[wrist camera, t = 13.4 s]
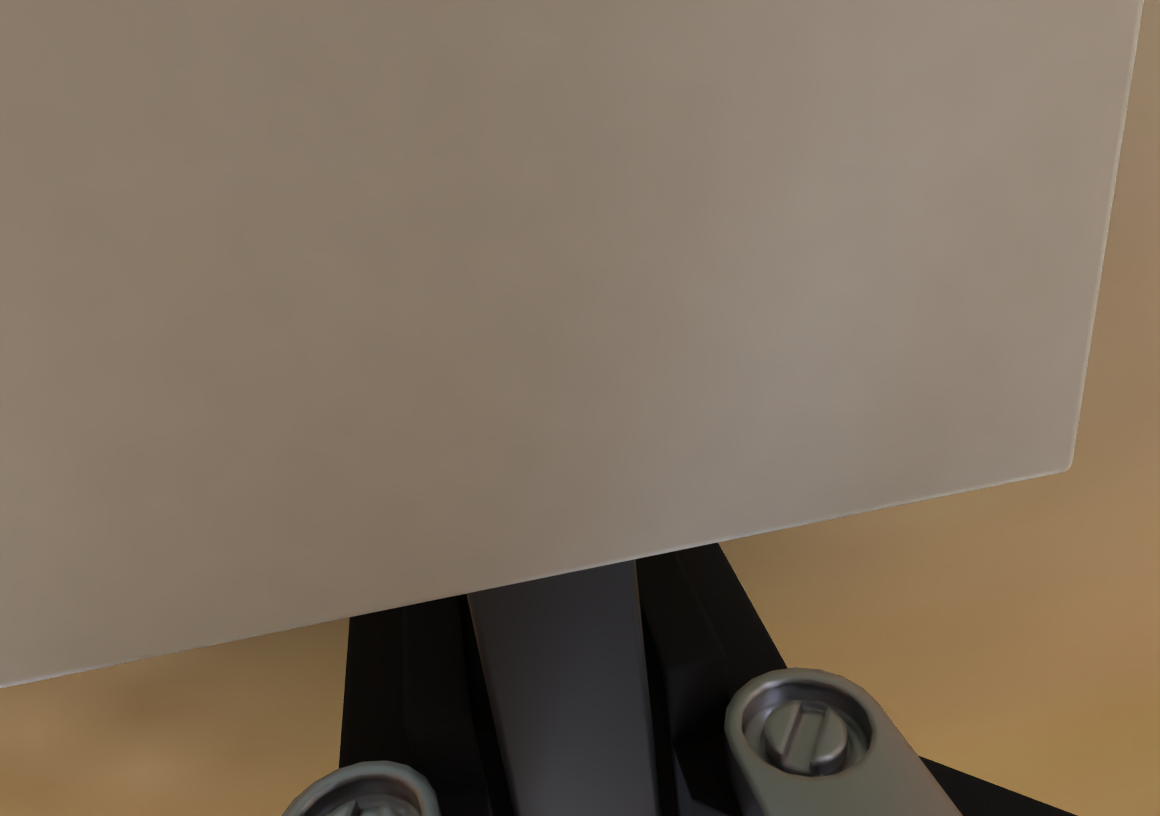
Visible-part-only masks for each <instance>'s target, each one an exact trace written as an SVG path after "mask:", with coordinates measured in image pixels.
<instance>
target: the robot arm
mask: <svg viewBox="0 0 1160 816" xmlns="http://www.w3.org/2000/svg"><path fill="white" fill-rule="evenodd" d="M635 563H636V572H637V582H638V592H639V601H640V611H641V620H642V630H643V639H644V649H645V659H646V668H647V678H648V687H649V697H650V706H651V716H652V726H653V735H654V745H655V754H656V764H657V774H658V783H659V793H660V802H661V812H662V816H1077V815H1074V814H1071V813H1069V812H1066V811H1063V810H1061V809H1058V808H1055V807H1053V806H1050V805H1048V804H1045V803H1042V802H1040V801H1037V800H1034V799H1032V798H1029V797H1026V796H1024V795H1021V794H1018V793H1016V792H1013V791H1011V790H1008V789H1005V788H1003V787H1000V786H997V785H995V784H992V783H989V782H987V781H984V780H981V779H979V778H976V777H974V776H971V775H968V774H966V773H963V772H960V771H958V770H955V769H952V768H950V767H947V766H944V765H942V764H939V763H937V762H934V761H931V760H929V759H926V758H923V757H921V756H918V755H917V754H916V753H915V751H914V750H913V749H912V747H911V746H910V745H909V743H908V742H907V741H906V739H905V738H904V737H903V735H902V734H901V733H900V731H899V730H898V729H897V727H896V726H895V724H894V723H893V722H892V720H891V719H890V718H889V716H888V715H887V714H886V712H885V711H884V710H883V708H882V707H881V706H880V704H879V703H878V702H877V701H876V700H875V699H874V698H873V697H872V696H871V695H870V694H869V693H867V692H866V691H865V690H864V689H863V688H862V687H860V686H858V685H857V684H855V683H853V682H851V681H850V680H848V679H846V678H844V677H843V676H840V675H836V674H833V673H830V672H826V671H823V670H820V669H808V668H795V667H794V668H787V666H786V664H785V663H784V661H783V659H782V657H781V655H780V654H779V652H778V650H777V648H776V646H775V645H774V643H773V641H772V639H771V637H770V636H769V634H768V632H767V630H766V628H765V627H764V625H763V623H762V621H761V619H760V618H759V616H758V614H757V612H756V610H755V609H754V607H753V605H752V603H751V601H750V600H749V598H748V596H747V594H746V592H745V591H744V589H743V587H742V585H741V583H740V582H739V580H738V578H737V576H736V574H735V573H734V571H733V569H732V567H731V565H730V564H729V562H728V560H727V558H726V556H725V555H724V553H723V551H722V549H721V547H720V546H719V544H718V542H717V543H712V544H707V545H702V546H697V547H692V548H687V549H683V550H678V551H673V552H668V553H663V554H658V555H653V556H648V557H643V558H638V559H635ZM282 816H514V815H513V810H512V805H511V801H510V796H509V791H508V787H507V782H506V777H505V772H504V768H503V763H502V758H501V754H500V749H499V744H498V740H497V735H496V730H495V725H494V721H493V716H492V711H491V707H490V702H489V697H488V692H487V688H486V683H485V678H484V674H483V669H482V664H481V660H480V655H479V650H478V645H477V641H476V636H475V631H474V627H473V622H472V617H471V612H470V608H469V603H468V598H467V594H461V595H456V596H452V597H447V598H442V599H437V600H432V601H427V602H422V603H417V604H412V605H407V606H402V607H398V608H393V609H388V610H383V611H378V612H373V613H368V614H363V615H358V616H353V617H350V622H349V636H348V650H347V663H346V677H345V691H344V705H343V719H342V732H341V746H340V760H339V769H337V770H335V771H334V772H332V773H330V774H328V775H326V776H324V777H323V778H321V779H319V780H317V781H315V782H314V783H312V784H311V785H310V786H309V787H308V788H307V789H305V790H304V791H303V792H302V793H301V794H300V795H298V796H297V797H296V798H295V799H294V800H293V801H292V802H291V804H290V805H289V806H288V808H287V809H286V811H285V812H284V813H283V815H282Z"/></svg>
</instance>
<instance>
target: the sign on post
mask: <svg viewBox="0 0 1160 816" xmlns="http://www.w3.org/2000/svg"><path fill="white" fill-rule="evenodd" d="M1143 4H1144V0H0V688H4V687H9V686H14V685H19V684H24V683H29V682H34V681H39V680H44V679H49V678H54V677H58V676H63V675H68V674H73V673H78V672H83V671H88V670H93V669H98V668H103V667H108V666H113V665H117V664H122V663H127V662H132V661H137V660H142V659H147V658H152V657H157V656H162V655H167V654H171V653H176V652H181V651H186V650H191V649H196V648H201V647H206V646H211V645H216V644H221V643H226V642H230V641H235V640H240V639H245V638H250V637H255V636H260V635H265V634H270V633H275V632H280V631H284V630H289V629H294V628H299V627H304V626H309V625H314V624H319V623H324V622H329V621H334V620H339V619H343V618H348V617H353V616H358V615H363V614H368V613H373V612H378V611H383V610H388V609H393V608H398V607H402V606H407V605H412V604H417V603H422V602H427V601H432V600H437V599H442V598H447V597H452V596H456V595H461V594H467V598H468V603H469V608H470V612H471V617H472V622H473V627H474V631H475V636H476V641H477V645H478V650H479V655H480V660H481V664H482V669H483V674H484V678H485V683H486V688H487V692H488V697H489V702H490V707H491V711H492V716H493V721H494V725H495V730H496V735H497V740H498V744H499V749H500V754H501V758H502V763H503V768H504V772H505V777H506V782H507V787H508V791H509V796H510V801H511V805H512V810H513V815H514V816H662V812H661V802H660V793H659V783H658V774H657V764H656V754H655V745H654V735H653V726H652V716H651V706H650V697H649V687H648V678H647V668H646V659H645V649H644V639H643V630H642V620H641V611H640V601H639V592H638V582H637V572H636V563H635V559H638V558H643V557H648V556H653V555H658V554H663V553H668V552H673V551H678V550H683V549H687V548H692V547H697V546H702V545H707V544H712V543H717V542H722V541H727V540H732V539H737V538H741V537H746V536H751V535H756V534H761V533H766V532H771V531H776V530H781V529H786V528H791V527H796V526H800V525H805V524H810V523H815V522H820V521H825V520H830V519H835V518H840V517H845V516H850V515H855V514H859V513H864V512H869V511H874V510H879V509H884V508H889V507H894V506H899V505H904V504H909V503H913V502H918V501H923V500H928V499H933V498H938V497H943V496H948V495H953V494H958V493H963V492H968V491H972V490H977V489H982V488H987V487H992V486H997V485H1002V484H1007V483H1012V482H1017V481H1022V480H1027V479H1031V478H1036V477H1041V476H1046V475H1051V474H1056V473H1061V472H1064V471H1066V470H1068V469H1069V468H1070V466H1071V465H1072V462H1073V455H1074V449H1075V442H1076V436H1077V429H1078V423H1079V417H1080V410H1081V404H1082V397H1083V391H1084V384H1085V378H1086V371H1087V365H1088V359H1089V352H1090V346H1091V339H1092V333H1093V326H1094V320H1095V313H1096V307H1097V300H1098V294H1099V288H1100V281H1101V275H1102V268H1103V262H1104V255H1105V249H1106V242H1107V236H1108V229H1109V223H1110V217H1111V210H1112V204H1113V197H1114V191H1115V184H1116V178H1117V171H1118V165H1119V159H1120V152H1121V146H1122V139H1123V133H1124V126H1125V120H1126V113H1127V107H1128V100H1129V94H1130V88H1131V81H1132V75H1133V68H1134V62H1135V55H1136V49H1137V42H1138V36H1139V29H1140V23H1141V17H1142V10H1143Z"/></svg>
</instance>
